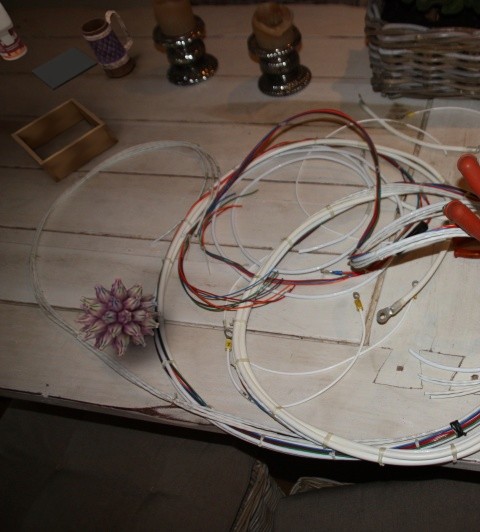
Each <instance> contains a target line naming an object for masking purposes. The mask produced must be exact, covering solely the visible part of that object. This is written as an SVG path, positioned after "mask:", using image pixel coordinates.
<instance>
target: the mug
mask: <svg viewBox="0 0 480 532" xmlns="http://www.w3.org/2000/svg"><path fill="white" fill-rule="evenodd" d="M112 17H114V18H115V19H116V21H117V23H118V25H119V27H120V29H121V31H122V32H123V34H124V36H125V38H126V44H125V45H123V44H122V42H121V40H120V39H119V37H118V36H117V34H116V33H115V31H114V30H113V28H112V26H111V24H112ZM80 32H81V35H82V36H83V38H84V40H85V41H86V43H87V44H88V46H89V48H90V49H91V51H92V53H93V54H94V56H95V57H96V61H97V63H98V64H99V65H100V68H102V69H103V71H104V72H105V74H106V76H108V77H110V78H113V79H114V78H120V77H121V78H122V77H124V76H126V75H128V74H129V73H131V72H132V71H133V69H134V68H135V62H134V61H133V59H132V57H131V56H130V53H129V52H128V51H129V50H130V49H131V47H132V45H133V39H132V36H131V35H130V32H129V31H128V29H127V28H126V26H125V24H124V21H123V19H122V17H121V16H120V15H119V13H118V12H117V11H115V10H107V11H106V12H105V15H104V17H94V18H91V19H88V20H86V21H84V23H83V24H82V25H81V26H80Z"/></svg>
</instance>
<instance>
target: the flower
mask: <svg viewBox="0 0 480 532" xmlns="http://www.w3.org/2000/svg"><path fill="white" fill-rule="evenodd" d="M144 287H145V285H144V284H143V283H141V282H140V283H134V285H133V286H132V287H130V288H128V289H127V288H126V286H125V285H124V283H123V282H122V278H121V277H117V278H115V279H114V283H112V284H111V289H110V290H109V289H108V288H105V287H104V286H103V285H102V284H100V283H98V284H96V285H94V286H93V289H94V290H95V295H96V297H86V296H83V295H82V296H81V297H80V299H79V301H80V302H81V303H80V305H79V309H82V311H84V313H85V314H84V315H82V316H81V317H79V318H75V319H73V322H74V323H75V324H82V325H84V326H83V327H81V328H79V332H80V333H82V334H83V333H86V334H85V335H84V336H83V337H82V338H81V342H84V343H85V342H88V340H89V341H90V340H94V339H95V342H94V344H93V346H92V347H93V348H94V350H98V351H100V352H103V351H104V350H105V348H108V347H109V346H111V347H112V348H113V349H114V350H115V351H116V355H117V357H120V356H121V357H123V356H125V352H126V351H127V350H128V349H127V348H128V346H129V344H130V342H131V343H133V344H134V345H135V346H138V345H140V346H141V347H143V348H144V347H145V348H146V347H147V345H148V343H147V342H146V341H145V336H147V335H149V336H151V337H153V336H155V334H154V333H155V332H154V331H153V329H158V328H159V326H160V323H159V322H157V321H155V320H154V318H156V317H159V316H160V315H161V312H160V311H154V309H155V308H156V307H158V306H159V301H153V300H154V299H155V298H156V295H155V293H151V294H150V295H144V291H143V289H144Z"/></svg>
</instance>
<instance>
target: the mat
mask: <svg viewBox="0 0 480 532" xmlns="http://www.w3.org/2000/svg"><path fill="white" fill-rule="evenodd" d="M97 65H98V62H96V61H95V60H94V59H92V58H90V57H89V56H88V55H86V53H84V52H82V51H81V50H80V49H78V48H77V47H75V46H72V47H70V48H69V49H67V50H65V51H64V52H62V53H60V54H58V55H57V56H54V57H53V58H51V59H50V60H48V61H46V62H44V63H43V64H41V65H39V66H37V67H36V68H33V69H32V70H31V73H32V74H34V75H35V76H36V77H37V78H39V80H41V81H42V82H43V83H45V85H47V86H48V87H49V88H50V89H52V90H53V91H55V90H57V89H58V88H60V87H62V86H63V85H65V84H67V83H68V82H70V81H72V80H73V79H75V78H77V77H78V76H80V75H82V74H83V73H86V72H88V70H90V69H92V68H94V67H95V66H97Z"/></svg>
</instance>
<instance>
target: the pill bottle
mask: <svg viewBox="0 0 480 532" xmlns="http://www.w3.org/2000/svg"><path fill="white" fill-rule="evenodd" d="M8 32H9V34H10V35H11V37H12V38H13V39H14V42H13V43H12V44H10V45H5V44H4V43H3V42H2V41H1V40H0V56H1V58H3V59H4V60H6V61H15V60H19V59H20V58H22V57H24V56H25V55H26V54H27V52H28V47H27V46H26V44H24V42H23V41H22V39H21V38H20V37H19V35H18V33H16V31H15V30H14V28H13V27H12V28H10V29H9V30H8Z"/></svg>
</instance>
